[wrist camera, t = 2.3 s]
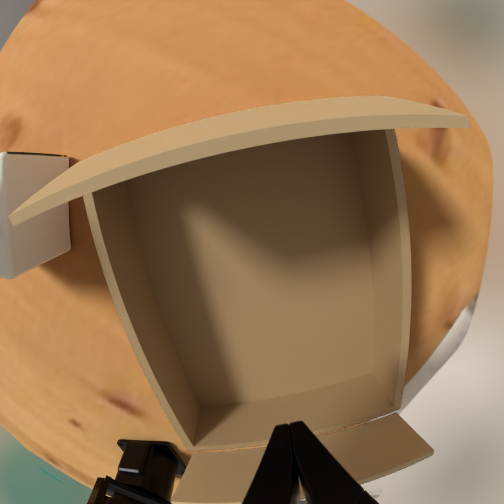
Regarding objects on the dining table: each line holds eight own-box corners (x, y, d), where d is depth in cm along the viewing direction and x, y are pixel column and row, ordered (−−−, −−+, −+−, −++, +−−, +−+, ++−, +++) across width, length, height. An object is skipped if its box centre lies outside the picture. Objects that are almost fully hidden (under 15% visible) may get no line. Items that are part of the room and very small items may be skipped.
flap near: (81, 168, 12) (79, 161, 11) (383, 103, 11) (382, 95, 11) (13, 226, 7) (8, 216, 6) (469, 128, 6) (469, 116, 6)
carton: (377, 372, 21) (399, 408, 16) (196, 408, 22) (188, 451, 17) (353, 121, 16) (388, 103, 11) (117, 172, 17) (78, 171, 12)
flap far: (396, 412, 16) (396, 416, 16) (193, 452, 16) (194, 456, 16) (433, 450, 10) (433, 454, 10) (170, 501, 10) (172, 505, 10)
